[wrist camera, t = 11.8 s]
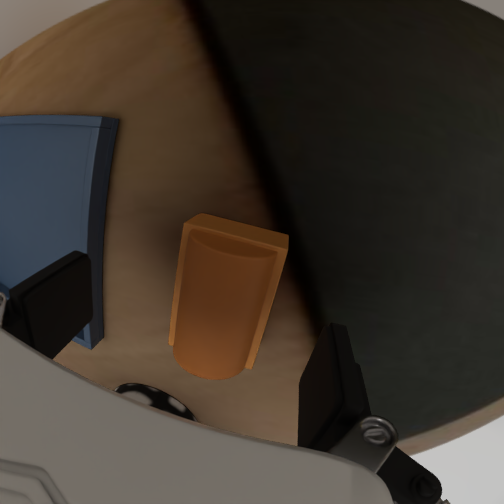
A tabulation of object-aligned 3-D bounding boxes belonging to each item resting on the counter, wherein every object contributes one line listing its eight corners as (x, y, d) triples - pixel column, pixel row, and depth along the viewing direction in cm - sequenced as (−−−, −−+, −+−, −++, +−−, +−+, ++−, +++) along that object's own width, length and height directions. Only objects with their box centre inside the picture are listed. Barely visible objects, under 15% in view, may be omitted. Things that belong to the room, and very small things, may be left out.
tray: (-8, 118, 15) (-23, 118, 14) (119, 119, 14) (102, 116, 13) (-8, 277, 20) (-21, 283, 18) (103, 337, 19) (91, 350, 18)
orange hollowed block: (200, 212, 15) (166, 232, 11) (289, 234, 15) (287, 264, 11) (182, 321, 18) (154, 365, 13) (257, 343, 17) (246, 394, 13)
